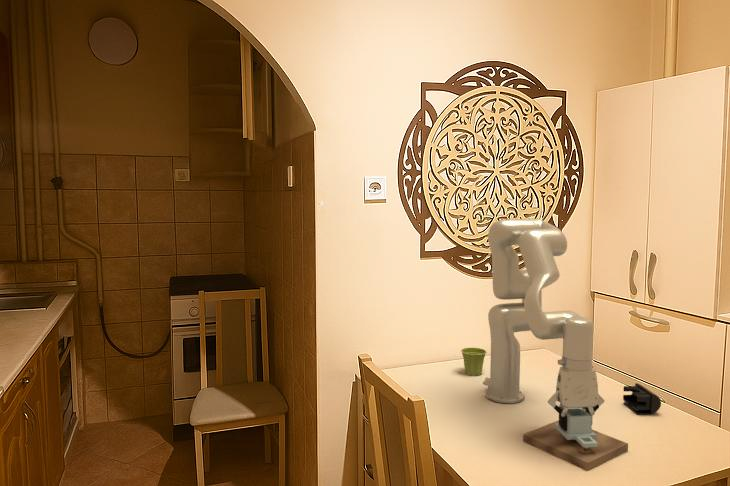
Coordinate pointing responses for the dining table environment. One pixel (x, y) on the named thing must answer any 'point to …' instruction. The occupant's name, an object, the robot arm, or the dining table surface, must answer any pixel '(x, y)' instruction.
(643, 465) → the dining table surface
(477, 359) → the plant pot
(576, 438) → the grey bracket housing
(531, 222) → the robot arm
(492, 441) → the dining table surface
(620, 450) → the post board
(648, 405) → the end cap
